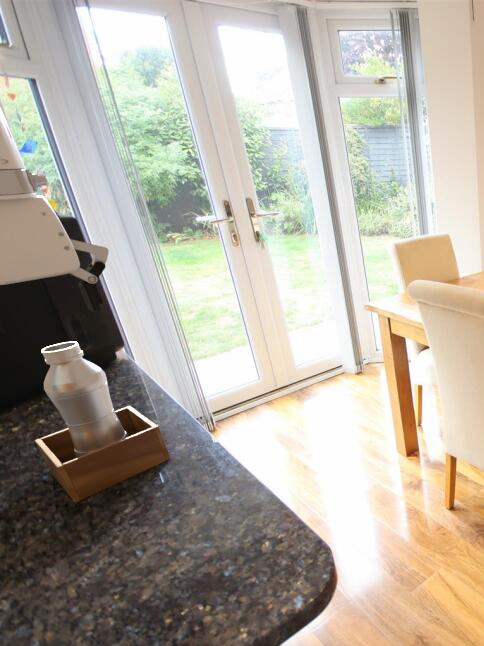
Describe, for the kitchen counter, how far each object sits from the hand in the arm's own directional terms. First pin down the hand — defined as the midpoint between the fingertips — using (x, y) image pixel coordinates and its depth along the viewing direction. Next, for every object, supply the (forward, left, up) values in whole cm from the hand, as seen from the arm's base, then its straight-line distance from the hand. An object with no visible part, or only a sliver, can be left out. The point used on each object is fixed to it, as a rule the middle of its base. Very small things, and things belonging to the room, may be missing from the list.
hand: (50, 321), depth 62 cm
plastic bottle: (0, 0, -24) cm, 24 cm away
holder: (0, 0, -24) cm, 24 cm away
